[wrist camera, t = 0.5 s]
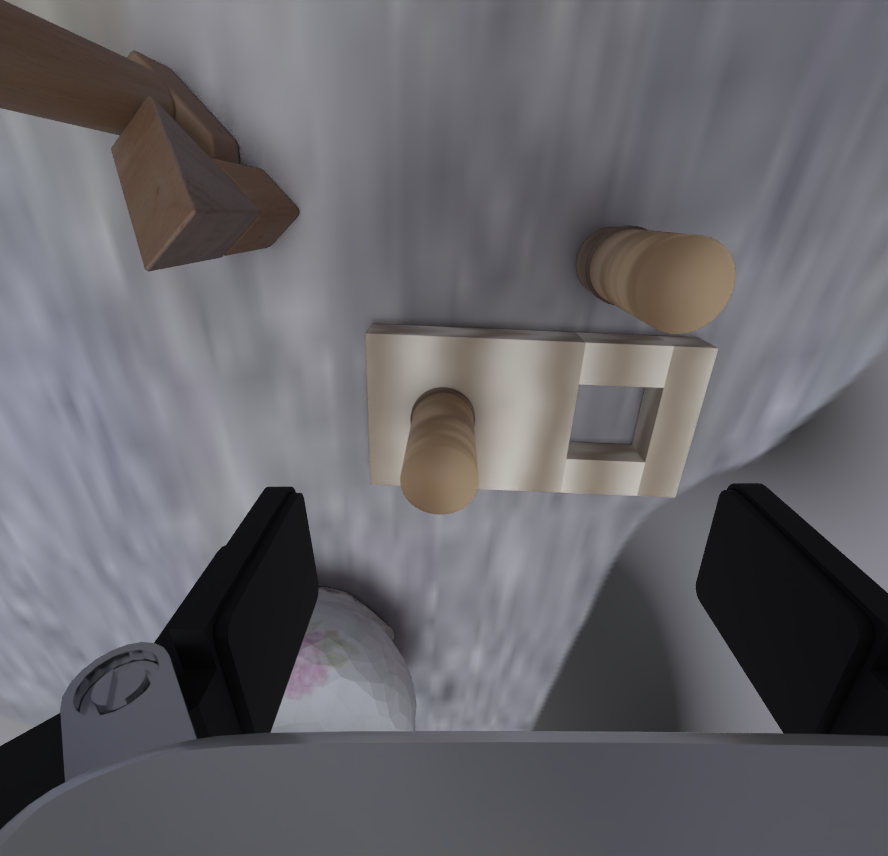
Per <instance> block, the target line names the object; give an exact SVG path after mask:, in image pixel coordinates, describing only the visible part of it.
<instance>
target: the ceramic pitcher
mask: <svg viewBox="0 0 888 856" xmlns="http://www.w3.org/2000/svg"><path fill="white" fill-rule="evenodd" d="M394 638H395V636H394V633H393V629H392V628H390V627H389V626H388V625H387V624H386V623H385V622H383V621H382V620H381V619H380V618H379V617H378V616H377V615H376V614H375V613H373V612H372V611H371V610H370V609H369V608H368V607H366V606H365V605H364V604H362V603H361V602H360V601H359V600H357V599H356V598H355V597H353V596H352V595H351V594H349V593H346V592H344V591H341V590H337V589H332V588H328V587H319V592H318V599H317V602H316V605H315V608H314V611H313V614H312V616H311V619H310V622H309V625H308V628H307V631H306V633H305V636H304V639H303V642H302V645H301V648H300V650H299V653H298V656H297V659H296V662H295V665H294V668H293V670H292V673H291V676H290V679H289V682H288V685H287V687H286V690H285V693H284V696H283V699H282V702H281V705H280V707H279V710H278V713H277V716H276V719H275V722H274V724H273V727H272V730H271V733H284V732H340V731H415V715H416V698H415V691H414V686H413V682H412V678H411V675H410V672H409V669H408V667H407V664H406V662H405V660H404V658H403V657H402V655H401V654H400V652H399V651H398V649H397V647H396V646H395V644H394V643H393V642H392V641H393V639H394Z"/></svg>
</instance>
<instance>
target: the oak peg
mask: <svg viewBox="0 0 888 856" xmlns="http://www.w3.org/2000/svg"><path fill="white" fill-rule="evenodd" d="M576 270H577V274H578V277H579V279H580V281H581V283H582V284H583V285H584V286H585V287H586V288H587V289H588V290H590V291H591V292H592V293H593V294H594V295H595V296H596V297H597V298H599V299H601V300H602V301H604V302H606V303H608V304H612V305H616V306H617V307H619V308H621V309H623V310H624V311H626V312H628V313H629V314H631V315H633V316H635V317H636V318H638V319H640V320H641V321H643V322H645V323H646V324H648V325H650V326H652V327H653V328H655V329H657V330H659V331H661V332H664V333H668V334H684V333H689V332H692V331H695V330H698V329H700V328H702V327H704V326H705V325H707V324H708V323H710V322H711V321H712V320H713V319H715V318H716V317H717V316H718V315H719V314H720V313H721V311H722V310H723V309H724V308H725V306H726V305H727V303H728V301H729V299H730V297H731V295H732V292H733V289H734V285H735V279H736V269H735V264H734V261H733V258H732V256H731V254H730V252H729V251H728V249H727V248H726V247H725V246H724V245H723V244H722V243H720V242H719V241H717V240H715V239H713V238H711V237H707V236H701V235H691V234H681V233H670V232H660V231H650V230H647V229H644V228H641V227H637V226H622V227H608V228H604V229H601V230H599V231H597V232H595V233H593V234H592V235H591V236H590V237H589V238H588V239H587V240H586V241H585V242H584V243H583V245H582V246H581V248H580V250H579V253H578V256H577V261H576Z"/></svg>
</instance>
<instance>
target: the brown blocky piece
mask: <svg viewBox="0 0 888 856" xmlns="http://www.w3.org/2000/svg"><path fill="white" fill-rule="evenodd" d="M0 108H2V109H7V110H11V111H16V112H20V113H24V114H29V115H33V116H38V117H42V118H46V119H51V120H55V121H59V122H64V123H68V124H73V125H77V126H81V127H86V128H90V129H94V130H99V131H103V132H108V133H112V134H116V135H120V136H119V138H118V139H117V141H116V142H115V144H114V145H113V146H112V148H111V150H112V154H113V158H114V162H115V165H116V169H117V172H118V176H119V179H120V183H121V186H122V190H123V193H124V197H125V200H126V204H127V207H128V211H129V214H130V218H131V222H132V225H133V229H134V232H135V236H136V239H137V243H138V246H139V250H140V253H141V257H142V260H143V264H144V267H145V269H146V270H147V271H153V270H159V269H164V268H169V267H174V266H179V265H184V264H190V263H195V262H200V261H205V260H210V259H216V258H220V257H222V256H223V255H225V256H226V255H231V254H236V253H241V252H247V251H252V250H257V249H262V248H267V247H270V246H271V245H272V244H273V243H274V242H275V241H276V240H277V238H278V237H279V236H280V235H281V234H282V233H283V232H284V231H285V230H286V229H287V227H288V226H289V225H290V224H291V223H292V222H293V221H294V220H295V219H296V217H297V216H298V214H299V210H298V208H297V207H296V205H295V204H294V203H293V202H292V201H291V200H290V199H289V198H288V197H287V196H286V195H285V193H284V192H283V191H282V190H281V189H280V188H279V187H278V186H277V185H276V184H275V183H274V181H273V180H272V179H271V178H270V177H269V176H268V175H267V174H266V173H265V172H264V171H263V170H261V169H259V168H254V167H250V166H245V165H241V164H239V155H238V146H237V142H236V141H235V139H234V138H233V137H232V136H231V135H230V134H229V132H228V131H227V130H226V129H225V128H224V127H223V126H222V125H221V124H220V123H219V122H218V120H217V119H216V118H215V117H214V116H213V115H212V114H211V113H210V112H209V111H208V110H207V108H206V107H205V106H204V105H203V104H202V103H201V102H200V101H199V100H198V99H197V98H196V96H195V95H194V94H193V93H192V92H191V91H190V90H189V89H188V88H187V87H186V86H185V84H184V83H183V82H182V81H181V80H180V79H179V78H178V77H177V76H176V75H175V74H174V72H173V71H172V70H171V69H170V68H168V67H166V66H164V65H162V64H160V63H158V62H156V61H155V60H153V59H151V58H149V57H147V56H145V55H143V54H141V53H139V52H137V51H132V52H131V53H130V54H129V55H128V57H127V58H126V57H123V56H121V55H119V54H117V53H115V52H113V51H111V50H108V49H106V48H104V47H102V46H100V45H98V44H96V43H94V42H91V41H89V40H87V39H85V38H83V37H81V36H79V35H76V34H74V33H72V32H70V31H68V30H66V29H64V28H61V27H59V26H57V25H55V24H53V23H51V22H49V21H47V20H44V19H42V18H40V17H38V16H36V15H34V14H32V13H29V12H27V11H25V10H23V9H21V8H19V7H17V6H15V5H12V4H10V3H8V2H6V1H4V0H0Z"/></svg>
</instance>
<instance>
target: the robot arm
mask: <svg viewBox="0 0 888 856" xmlns="http://www.w3.org/2000/svg"><path fill="white" fill-rule="evenodd" d="M318 592H319V584H318V578H317V572H316V566H315V560H314V554H313V549H312V543H311V537H310V531H309V525H308V519H307V513H306V508H305V502H304V497H303V495H302V493H296V491H295V489H294V488H293V487H266V488H265V489H264V491H263V492H262V493H261V495H260V496H259V498H258V499H257V501H256V502H255V504H254V505H253V507H252V508H251V510H250V511H249V512H248V514H247V515H246V517H245V518H244V520H243V521H242V523H241V524H240V526H239V527H238V529H237V530H236V531H235V533H234V534H233V536H232V537H231V539H230V540H229V542H228V543H227V545H226V546H223V547H222V548H221V549H220V550H219V551H218V552H217V553H216V555H215V556H214V558H213V559H212V561H211V562H210V563H209V565H208V566H207V568H206V569H205V571H204V572H203V573H202V575H201V576H200V578H199V579H198V581H197V582H196V584H195V585H194V586H193V588H192V589H191V591H190V592H189V594H188V595H187V596H186V598H185V599H184V601H183V602H182V604H181V605H180V607H179V608H178V609H177V611H176V612H175V614H174V615H173V617H172V618H171V619H170V621H169V622H168V624H167V625H166V627H165V628H164V630H163V631H162V632H161V634H160V635H159V637H158V638H157V640H156V641H155V642H154V643H147V642H140V643H135V644H129V645H125V646H123V647H120V648H117V649H115V650H112V651H110V652H108V653H107V654H105V655H103V656H101V657H99V658H98V659H96V660H95V661H93V662H92V663H91V664H90V665H88V666H87V667H86V668H84V669H83V670H82V671H81V672H80V673H79V674H78V675H77V676H76V677H75V679H74V680H73V681H72V682H71V683H70V684H69V686H68V688H67V690H66V692H65V693H64V695H63V697H62V702H61V708H60V713H59V714H57V715H56V716H54V717H52V718H50V719H48V720H47V721H45V722H43V723H41V724H39V725H38V726H36V727H34V728H32V729H30V730H29V731H27V732H25V733H23V734H22V735H20V736H18V737H16V738H14V739H12V740H11V741H9V742H7V743H5V744H3V745H2V746H0V856H888V593H887V592H886V591H885V590H884V589H882V588H881V587H880V586H879V585H878V584H877V583H876V582H874V581H873V580H872V579H871V578H870V577H869V576H868V575H866V574H865V573H864V572H863V571H862V570H861V569H860V568H858V567H857V566H856V565H855V564H854V563H853V562H852V561H851V560H849V559H848V558H847V557H846V556H845V555H844V554H842V553H841V552H840V551H839V550H838V549H837V548H836V547H834V546H833V545H832V544H831V543H830V542H829V541H828V540H826V539H825V538H824V537H823V536H822V535H821V534H819V533H818V532H817V531H816V530H815V529H814V528H813V527H812V526H810V525H809V524H808V523H807V522H806V521H805V520H804V519H803V518H801V517H800V516H799V515H798V514H797V513H796V512H795V511H793V510H792V509H791V508H790V507H789V506H788V505H787V504H785V503H784V502H783V501H782V500H781V499H780V498H779V497H777V496H776V495H775V494H774V493H773V492H772V491H771V490H769V489H768V488H767V487H766V486H764V485H763V484H758V483H749V484H748V483H746V484H745V483H743V484H742V483H741V484H740V483H739V484H731V485H730V486H729V487H728V488H727V490H724V491H722V492H721V493H720V495H719V499H718V502H717V506H716V510H715V514H714V517H713V521H712V525H711V529H710V533H709V536H708V540H707V544H706V547H705V551H704V555H703V559H702V562H701V566H700V570H699V574H698V578H697V581H696V593H697V596H698V599H699V601H700V602H701V604H702V606H703V607H704V609H705V610H706V612H707V613H708V615H709V617H710V618H711V620H712V621H713V623H714V625H715V626H716V627H717V629H718V631H719V632H720V634H721V636H722V637H723V639H724V640H725V642H726V643H727V645H728V646H729V648H730V650H731V651H732V653H733V654H734V656H735V657H736V659H737V661H738V662H739V664H740V666H741V667H742V669H743V670H744V672H745V673H746V675H747V677H748V678H749V680H750V681H751V683H752V684H753V686H754V688H755V689H756V691H757V692H758V694H759V695H760V697H761V698H762V700H763V702H764V703H765V705H766V707H767V708H768V709H769V711H770V713H771V714H772V716H773V718H774V719H775V721H776V722H777V724H778V725H779V727H780V729H781V730H782V731H783V733H784V734H776V733H775V734H774V733H692V732H691V733H689V732H550V731H549V732H547V731H546V732H544V731H540V732H539V731H340V732H284V733H271V730H272V727H273V724H274V722H275V719H276V716H277V713H278V710H279V707H280V705H281V702H282V699H283V696H284V693H285V690H286V687H287V685H288V682H289V679H290V676H291V673H292V670H293V668H294V665H295V662H296V659H297V656H298V653H299V650H300V648H301V645H302V642H303V639H304V636H305V633H306V631H307V628H308V625H309V622H310V619H311V616H312V614H313V611H314V608H315V605H316V602H317V599H318Z"/></svg>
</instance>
